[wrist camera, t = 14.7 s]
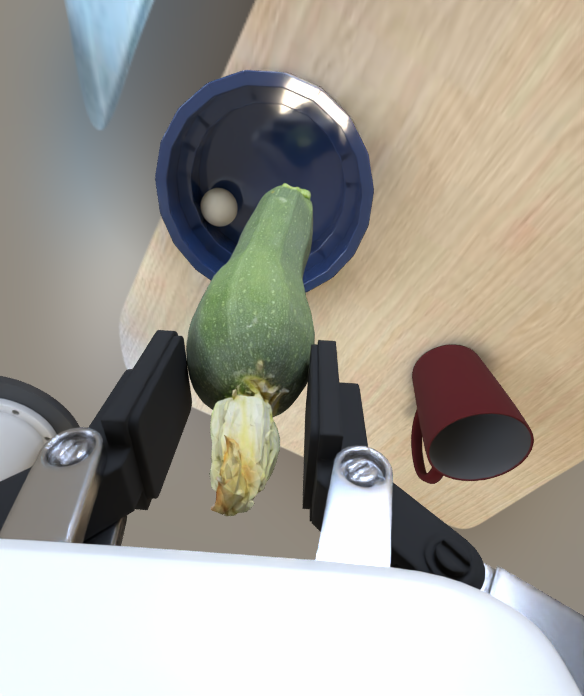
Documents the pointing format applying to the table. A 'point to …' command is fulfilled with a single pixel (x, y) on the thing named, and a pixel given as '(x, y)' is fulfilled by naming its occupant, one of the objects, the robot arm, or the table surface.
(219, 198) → the beige small ball
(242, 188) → the mixing bowl
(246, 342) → the vegetable
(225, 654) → the robot arm
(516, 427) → the mug
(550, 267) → the table surface
